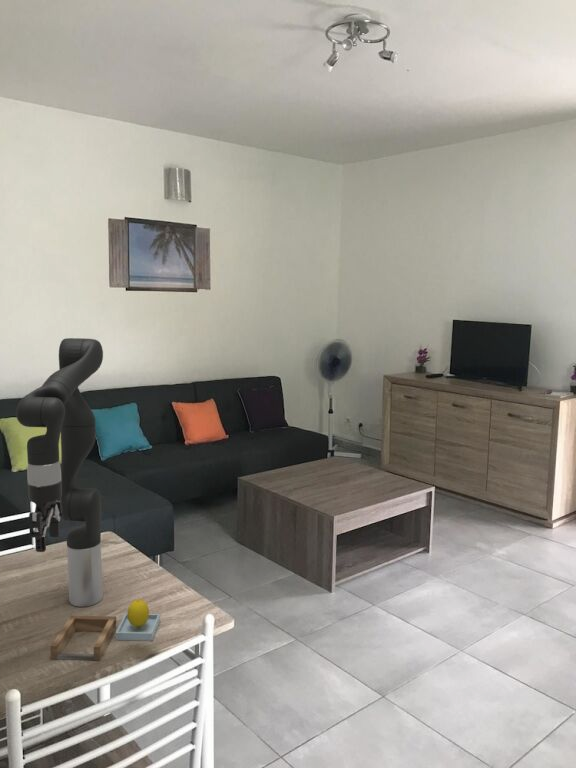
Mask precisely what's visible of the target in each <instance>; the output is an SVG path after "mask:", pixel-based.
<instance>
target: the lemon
mask: <svg viewBox="0 0 576 768" xmlns="http://www.w3.org/2000/svg"><path fill="white" fill-rule="evenodd" d="M127 614H128V620H129V622H130V624H131V625H133V626H135V627H138V628H140V627H141V626H143V625H144V624H145V623H146V622H147V620H148V618H149V614H150V609H149V606H148V603H147V602H146V601H145V600H142V599H139V598H137V599H136V600H133V601H131V602H130V604H129V606H128V608H127Z"/></svg>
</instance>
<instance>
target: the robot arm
mask: <svg viewBox="0 0 576 768" xmlns="http://www.w3.org/2000/svg"><path fill="white" fill-rule="evenodd" d="M103 359H104V350H103V346H102V344H101V342H100V341H99V340H98V339H95V338H94V339H93V338H79V337H78V338H74V337H72V338H71V337H69V338H67V337H66V338H64V339H63V338H62V340H61V341H60V343H59V348H58V368H59V369H58V370H56V371H55V372H53V373H52V374H51V375H49V377H47V378H46V380H45V381H44V382H43V384H42V385H41V386H39V387H38V388H35V389H34V390H33V391H30V392H29V393H27V394H26V395H24V396H23V397H22V398H21V400H20V401H19V402H18V405H17V407H16V410H15V411H16V412H15V416H16V419H17V422H18V423H19V424H21V425H22V426H23V427H26V428H27V427H28V428H46V432H45V434H40V435H36V436H32V437H31V438H29V439H28V440H27V443H26V454H27V470H26V471H27V473H26V474H27V476H26V477H27V492H28V493H27V494H28V500H29V501H30V502H31V503H33V504H34V505H35V509H34V512H33V511H31V512H29V514H28V519H29V520H28V523H29V524H28V525H29V527H28V528H29V538H33V539H34V542H35V546H34V547H35V552H37V553H44V552H45V551H47V541H46V534H47V533H46V532H47V529H49V537H51V538H58V537H59V536H60V521H61V520H63V521H64V522H65V521H67V522H85V525H84V526H82V527H81V526H80V527H78V528H75V529H73V530H71V531H70V532H69V533H68V534H67V535H66V553H67V554H66V556H67V559H66V560H67V574H68V575H67V576H68V577H67V579H68V598H69V600H68V601H69V604H71V605H72V606H74V607H82V608H84V607H89V606H93V605H97V604H98V603H99V602H101V600H102V599H103V597H104V594H103V568H102V567H103V566H102V562H103V561H102V547H101V546H102V543H101V542H102V541H101V535H102V534H101V533H102V496H101V492H100V490H98V489H97V488H92V487H91V488H89V487H76V480H77V475H78V472H79V470H80V468H81V466H82V464H83V462H84V461H85V459H86V458H87V457H88V455H89V454H90V452H91V451H92V449H93V447H94V445H95V442H96V416H95V413H94V412H93V411H92V409H91V407H90V405H89V404H88V402H87V401H86V400H85V398H84V396H83V395H82V393H81V391H80V389H79V387H80V386H81V385H82V384H83V383H84V382H85V381H87V380H88V379H89V378H90V377H91V376H92V375H94V374H95V373H96V372H97V371H98V370H99V369H100V367H101V365H102V363H103ZM59 446H60V447H59ZM60 451H61V454H60ZM60 456H61V457H60ZM60 459H61V462H60Z"/></svg>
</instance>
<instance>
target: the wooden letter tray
mask: <svg viewBox="0 0 576 768" xmlns="http://www.w3.org/2000/svg"><path fill="white" fill-rule="evenodd" d="M116 631H117V616H110V615H106V616H105V615H103V616H101V615H70V617H69V618H68V619H67V620H66V622H65V623H64V625H63V627H62V628H61V629H60V632H58V634H57V636H56V637H55V638H54V641H52V644H51V645H50V659H51V660H64V661H65V660H66V661H67V660H68V661H69V660H71V661H101V660H102V658H103V657H104V654H105V652H106V650H107V648H108V646H109V645H110V642H111V640H112V638H113V636H114V635H115V634H116ZM75 632H101V633H100V634H99V637H98V638H97V640H96V642H95V644H94V646H93V653H65V652H64V650H65V648H66V646H67V644H68V643H69V642H70V640H71V638H72V637H73V636H74V634H75ZM63 652H64V653H63Z"/></svg>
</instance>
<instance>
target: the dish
mask: <svg viewBox="0 0 576 768" xmlns="http://www.w3.org/2000/svg"><path fill="white" fill-rule="evenodd" d="M160 622H161V615H160V613H149V618H148V620H147V622H146V623H145V624H144V625H143V626H141V627H140V628H138V627H135V626H133V625H131V624H130V622H129V620H128V612H127V613H125V614H124V616H123V617H122V620H121V621H120V623H119V626H118V627H117V628H116V631H115V641H149V642H151V641H152V642H153V640H154V638H155V635H156V632H157V630H158V627H159V624H160Z"/></svg>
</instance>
